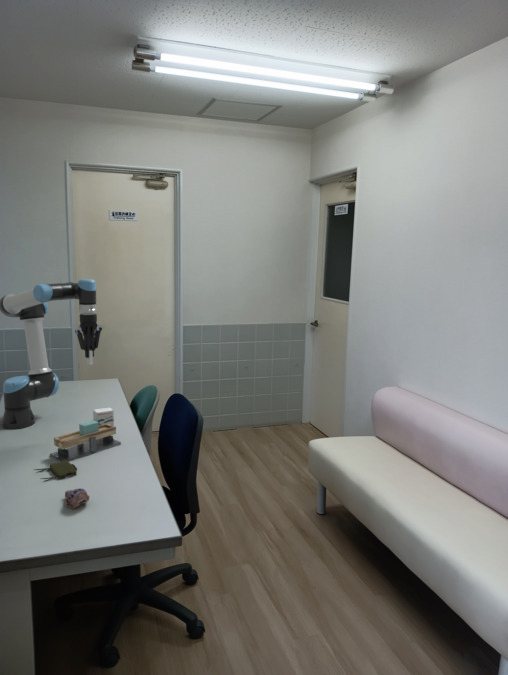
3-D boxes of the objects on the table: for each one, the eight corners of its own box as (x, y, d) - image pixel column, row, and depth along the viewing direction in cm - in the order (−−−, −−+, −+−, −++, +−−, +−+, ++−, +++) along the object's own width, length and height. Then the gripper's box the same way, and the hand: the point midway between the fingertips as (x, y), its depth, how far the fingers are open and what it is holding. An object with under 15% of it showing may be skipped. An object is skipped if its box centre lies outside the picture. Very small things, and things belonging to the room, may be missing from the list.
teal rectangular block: (79, 434, 220) (79, 423, 219) (93, 431, 225) (93, 420, 224) (84, 437, 217) (84, 426, 217) (98, 433, 223) (98, 422, 222)
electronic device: (81, 469, 197) (40, 479, 188) (81, 475, 197) (41, 486, 188) (69, 457, 208) (30, 466, 199) (69, 463, 208) (31, 472, 199)
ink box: (96, 436, 237) (95, 412, 235) (93, 433, 242) (92, 409, 240) (114, 433, 242) (113, 409, 240) (111, 430, 246) (110, 406, 244)
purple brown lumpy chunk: (59, 499, 178) (59, 482, 177) (81, 493, 183) (81, 477, 182) (69, 513, 169) (68, 496, 168) (92, 507, 173) (92, 490, 172)
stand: (49, 456, 214) (49, 440, 213) (106, 438, 236) (106, 423, 234) (63, 463, 207) (63, 447, 206) (120, 444, 229) (120, 429, 227)
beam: (53, 444, 213) (53, 437, 212) (106, 429, 233) (106, 423, 232) (63, 449, 208) (63, 442, 208) (116, 433, 228) (116, 427, 228)
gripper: (79, 315, 222) (81, 367, 226) (105, 313, 232) (106, 363, 236) (70, 313, 227) (72, 365, 231) (95, 311, 237) (97, 360, 241)
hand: (89, 364), depth 233 cm, fingers closed
